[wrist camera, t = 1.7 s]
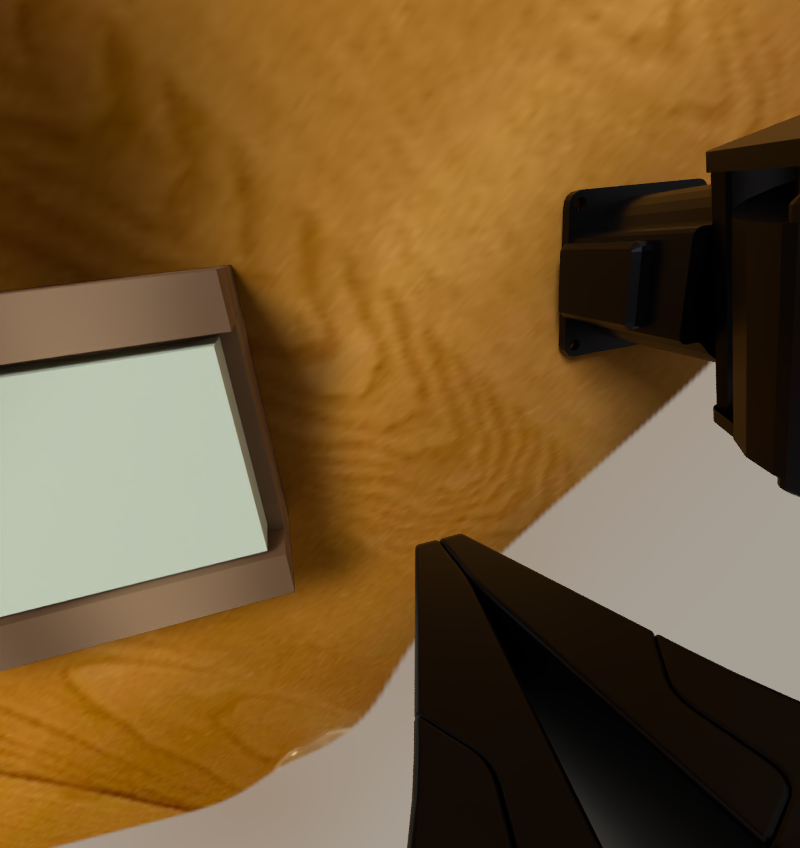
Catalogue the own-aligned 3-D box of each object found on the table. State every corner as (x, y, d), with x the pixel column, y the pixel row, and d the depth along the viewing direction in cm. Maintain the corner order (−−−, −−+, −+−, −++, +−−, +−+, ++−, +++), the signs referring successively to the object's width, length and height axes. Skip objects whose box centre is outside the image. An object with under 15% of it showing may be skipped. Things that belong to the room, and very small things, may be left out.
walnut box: (231, 264, 15) (216, 269, 11) (288, 512, 19) (295, 591, 15) (-295, 325, 12) (-615, 365, 8) (-105, 603, 16) (-248, 738, 12)
